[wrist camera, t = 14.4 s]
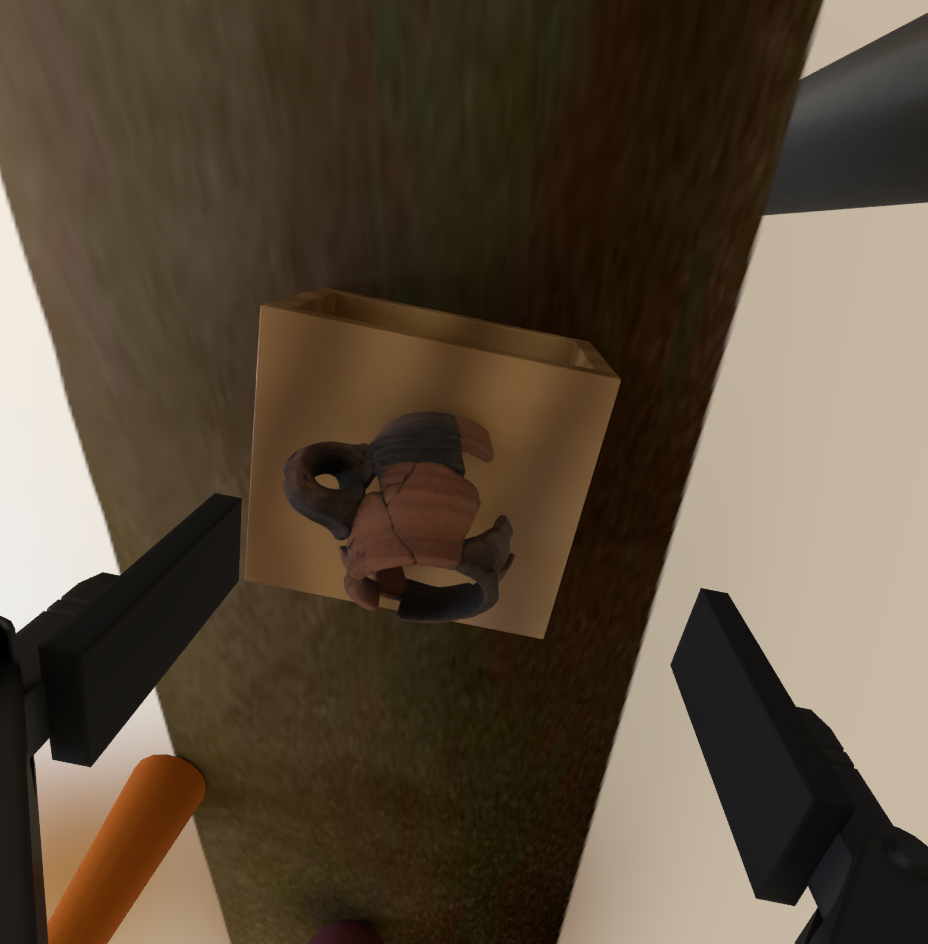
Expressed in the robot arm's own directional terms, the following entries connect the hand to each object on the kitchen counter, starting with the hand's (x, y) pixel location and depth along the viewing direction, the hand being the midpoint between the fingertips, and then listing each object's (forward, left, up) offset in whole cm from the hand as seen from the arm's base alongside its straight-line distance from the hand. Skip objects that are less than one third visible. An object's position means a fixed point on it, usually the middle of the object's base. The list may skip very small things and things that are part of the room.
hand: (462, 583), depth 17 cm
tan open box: (+3, +4, -26) cm, 26 cm away
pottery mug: (+3, +4, -15) cm, 15 cm away
